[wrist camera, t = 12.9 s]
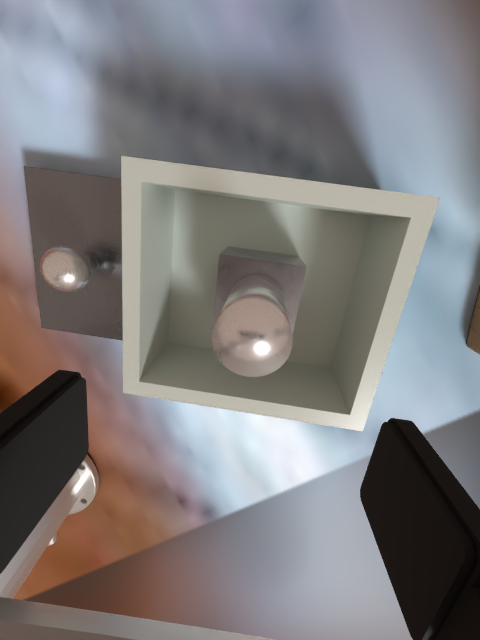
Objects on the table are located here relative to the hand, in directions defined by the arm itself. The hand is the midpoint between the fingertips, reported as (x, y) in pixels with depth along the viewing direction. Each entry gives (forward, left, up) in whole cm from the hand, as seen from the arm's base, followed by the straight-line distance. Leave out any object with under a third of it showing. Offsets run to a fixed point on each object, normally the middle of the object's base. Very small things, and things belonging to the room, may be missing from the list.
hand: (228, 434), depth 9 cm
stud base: (+1, +15, -19) cm, 24 cm away
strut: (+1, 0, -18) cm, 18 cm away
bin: (+1, 0, -19) cm, 19 cm away
